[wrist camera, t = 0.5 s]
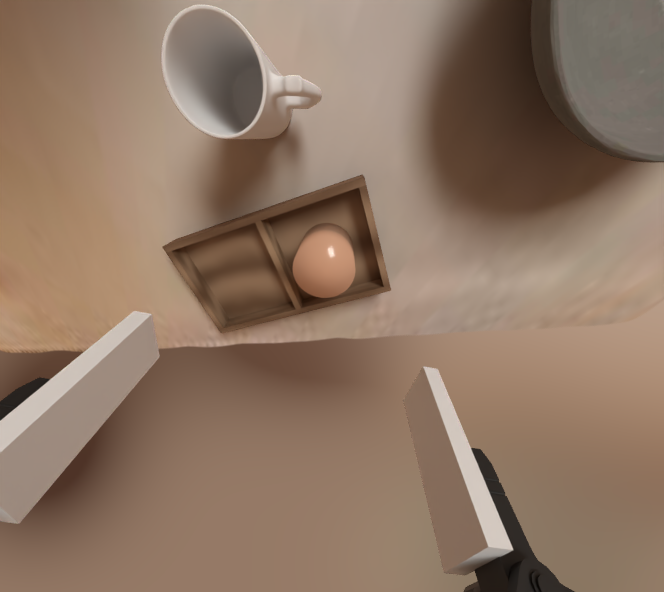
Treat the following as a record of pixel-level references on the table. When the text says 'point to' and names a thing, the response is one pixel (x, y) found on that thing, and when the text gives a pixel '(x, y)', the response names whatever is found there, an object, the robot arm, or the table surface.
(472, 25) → the table surface
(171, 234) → the table surface
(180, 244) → the divided wooden tray
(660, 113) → the bowl
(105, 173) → the table surface
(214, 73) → the mug
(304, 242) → the brown egg
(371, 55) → the table surface
